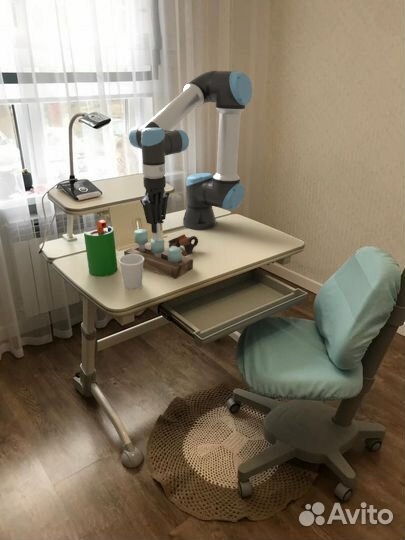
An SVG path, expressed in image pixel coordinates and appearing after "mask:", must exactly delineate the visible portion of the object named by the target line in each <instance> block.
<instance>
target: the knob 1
mask: <svg viewBox="0 0 405 540" xmlns="http://www.w3.org/2000/svg"><path fill="white" fill-rule="evenodd" d="M133 236H134V239H133V240H134V244H137V245H138V246H139V251H140V252H145V244H148V242H149V234H148V230H147V229H145V228H139V229H136V230H134V231H133Z"/></svg>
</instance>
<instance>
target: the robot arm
mask: <svg viewBox="0 0 405 540" xmlns="http://www.w3.org/2000/svg"><path fill="white" fill-rule="evenodd" d="M252 96H253V84H252V82H251V79H250V77H249V76H248V74H247V73H245V72H242V71H236V70H234V71H233V70H232V71H229V70H228V71H227V70H210V71H206V72H204V73H202V74H200V75H197V76H196V77H194V78H193V79H192V80H191V81H189V82H188V83H187V84H186V85H185V86H184V88H183V91H182V92H180V93H179V94H178V95H177V96H176V97H175V98H174V99H173V100H172V101H170V102H169V103H168V104H167V105H166V106H165V107H164V108H162V109H161V110H160V111H159V112H158V113H157V114H155V116H153V117H152V118H151V119H150V120H148V122H145V124H143V125H142V126H140V125H138V126H137V125H136V126H134V127H132V128H131V129H130V131H129V134H128V140H129V143H130V145H131V146H132V147H134V148H137V149H140V150H141V154H142V155H141V157H142V174H143V188H144V189H145V193H144V195H145V196H144V197H143V198H141V199H140V204H141V205H142V208H143V212H144V213H143V214H144V216H145V221H146V224H148V225H149V224H150V227H151V233H152V239H153V240H155V241H158V242H159V241H161V238H162V224H164V222H165V221H164V220H165V219H166V217H167V209H168V200H169V196H170V192H168V191H166V189H165V188H166V187H167V186H166V184H167V183H166V181H167V180H166V176H165V175H166V156H170V155H173V154H174V155H176V154H180V153H182V152H184V151H187V149H188V147H189V143H190V138H189V135H188V133H187V132H186V131H184V130H183V129H174V128H175V126H177V125H178V124H179V123H180V122H182V121H183V119H184V118H185V117H187V116H188V114H190V113H191V112H192V111H193V110H194V109H195V108H199V107H202V105H204V104H207V103H215V109H216V110H217V112H218V113H219V114H218V130H217V131H218V132H217V133H218V136H217V155H216V157H217V158H216V172H215V174H213V173H210V172H200V173H193V174H190V175H188V176H187V178H186V185H185V186H186V189H185V191H186V209H185V212H184V215H183V219H182V225H183V226H185V227H186V228H188V229H191V230H207V229H211V228H213V227H215V226H216V225H217V219H216V215H215V213H214V208H213V207H216V208H220V209H223V210H230V211H232V210H233V211H234V210H236V209H238V207H239V206H240V205H241V203H243V200H244V196H245V191H246V190H245V187H244V184H242V183H241V182H240V181H241V177H240V176H239V175H238V159H239V146H240V145H239V144H240V129H241V118H242V117H241V116H242V115H241V114H242V113H243V111H245V110H246V106H247V105H249V103H250V102H251V99H252ZM172 129H174V130H172Z"/></svg>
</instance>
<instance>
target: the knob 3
mask: <svg viewBox="0 0 405 540" xmlns="http://www.w3.org/2000/svg"><path fill="white" fill-rule="evenodd" d="M181 252H182V248H181V247H176V246H171V248H167V253H168V261H169V262H171V263H176V264H178V262H180V261H181V260H182V254H181Z"/></svg>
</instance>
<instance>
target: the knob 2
mask: <svg viewBox="0 0 405 540" xmlns="http://www.w3.org/2000/svg"><path fill="white" fill-rule="evenodd" d="M149 245H151V252H152V253H155V257H158V258H161V253H162V252H164V250H165V240H164V238H162V237H161V241H159V242H158V241H155V240H153V238H151V239H150V243H149Z"/></svg>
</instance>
